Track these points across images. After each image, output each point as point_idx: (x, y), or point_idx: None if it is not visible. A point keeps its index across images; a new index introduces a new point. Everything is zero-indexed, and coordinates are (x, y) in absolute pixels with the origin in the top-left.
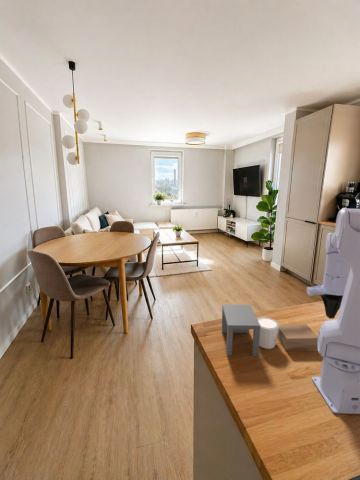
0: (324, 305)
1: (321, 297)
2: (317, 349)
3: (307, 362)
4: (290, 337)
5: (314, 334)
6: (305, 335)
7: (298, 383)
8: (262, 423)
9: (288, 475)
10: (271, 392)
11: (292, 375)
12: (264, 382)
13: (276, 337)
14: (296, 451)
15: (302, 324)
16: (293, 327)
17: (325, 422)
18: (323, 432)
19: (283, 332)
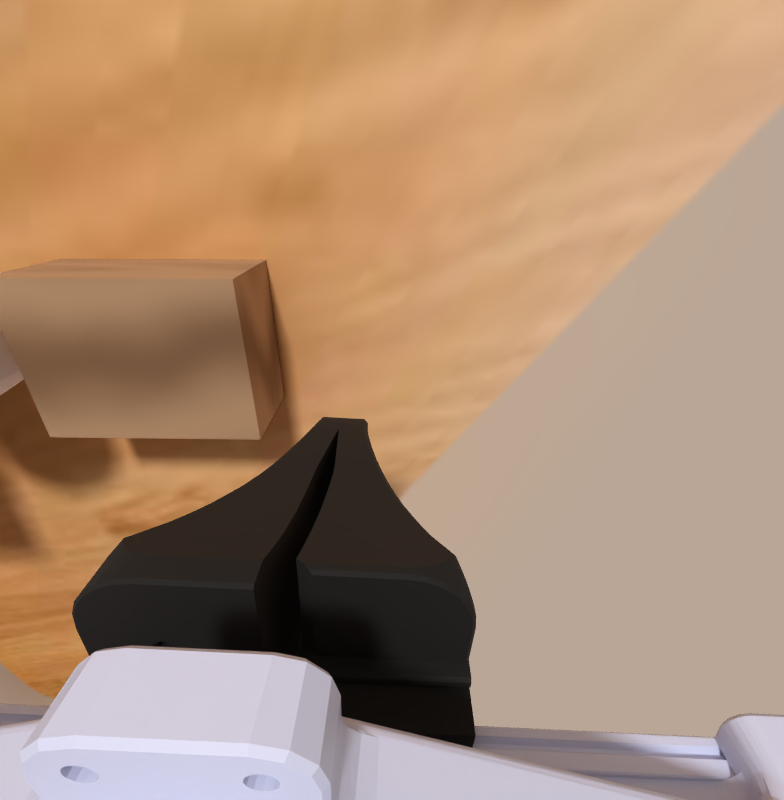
0: (273, 468)
1: (181, 523)
2: (281, 399)
3: (201, 466)
4: (74, 429)
5: (246, 404)
6: (180, 412)
7: None
8: (14, 638)
9: None
10: (36, 574)
11: (118, 521)
12: (10, 543)
13: (3, 386)
14: None
15: (198, 279)
16: (113, 319)
17: None
18: None
19: (30, 379)
